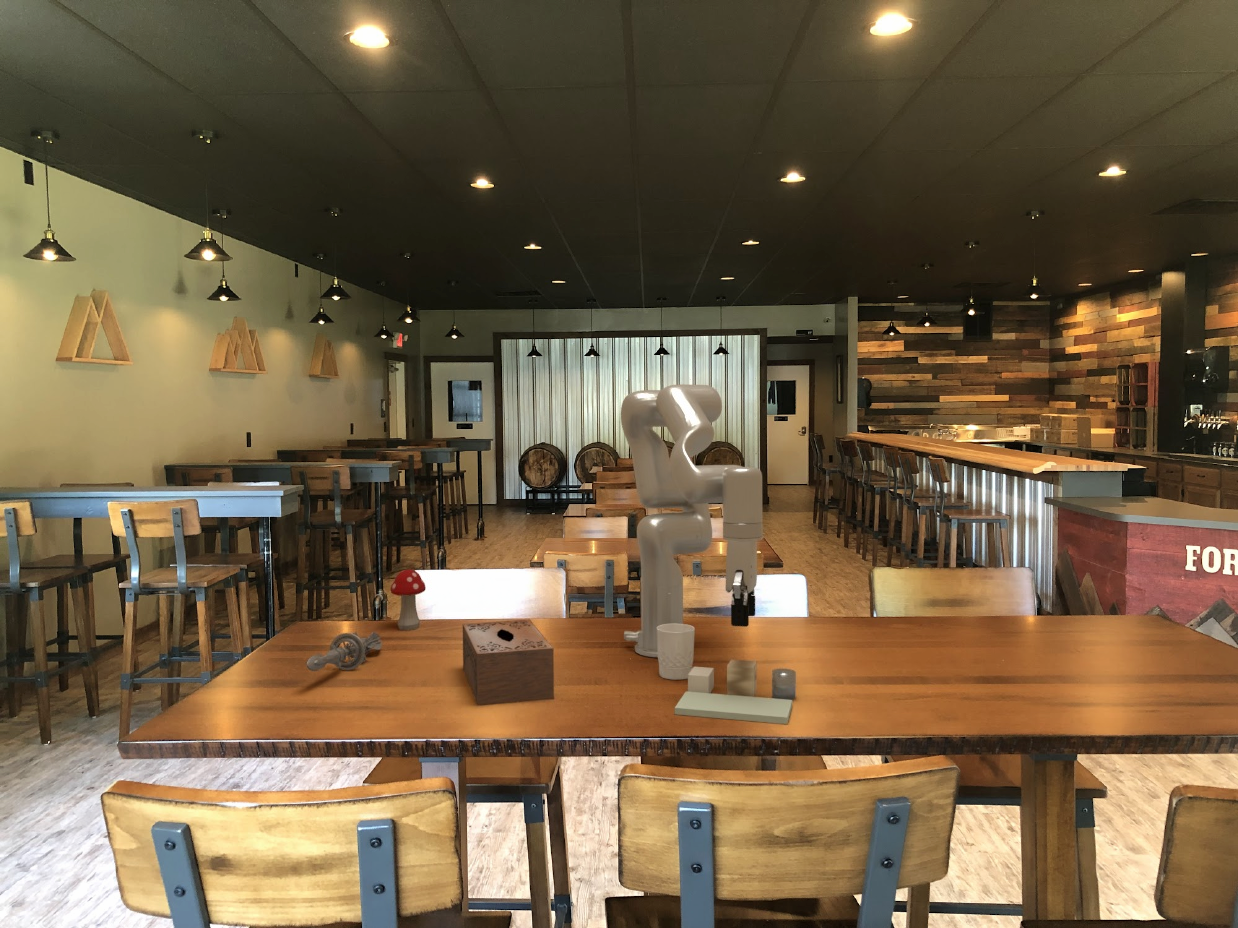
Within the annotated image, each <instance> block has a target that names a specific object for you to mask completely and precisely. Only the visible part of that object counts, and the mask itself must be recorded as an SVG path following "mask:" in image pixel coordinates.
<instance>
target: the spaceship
mask: <svg viewBox="0 0 1238 928" xmlns="http://www.w3.org/2000/svg"><path fill="white" fill-rule="evenodd" d="M341 644H343V646H341ZM382 647H383V641H381V636H380V635H379V633H377V632H375V631H373V632H372V633H371V634H370V635H369V636H367V637H359V635H358V632H357V631H355V632H352V633H351V632H343V633H340V634H338V635H337V636H335V637H334V639H333V640H331V643H330V646H329V650H328V651H326V654H324V655H323V654H320V653H317V654H315V655H312V656H310V657H309V658H307V661H306V668H307V669H308V670H310V671H311V672H317V671H319V670H323V669H324V668H325V667H326V665H327V664H330V665H334V666H335V667H336V668H337V669H340V670H342V671H353V670H355V669H357V668H358V667H359V666H361V664H362V663H363V664H364V663H366V662H367V661H368V660H367V657H366V655H367V654H369V653H370V652H371V651H372V650H378V651H380V650H382V649H381V648H382ZM346 659H348V661H346Z"/></svg>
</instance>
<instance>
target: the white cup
mask: <svg viewBox="0 0 1238 928" xmlns="http://www.w3.org/2000/svg"><path fill="white" fill-rule="evenodd" d="M657 649H658V657H657V659H658V660H657V661H658V674H659V677H660V678H663V679H666V680H673V681H676V680H680V681H681V680H686V679H687V680H688V674H689V673H690V671H691V670H692V669H693V663H694V654H695V653H694V652H695V651H694V650H695V627H694V626H693V625H690V624H687V623H686V624H685V623H683V624H663V625H659V626H658V627H657Z"/></svg>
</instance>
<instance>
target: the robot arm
mask: <svg viewBox="0 0 1238 928" xmlns="http://www.w3.org/2000/svg"><path fill="white" fill-rule="evenodd" d="M722 409H723V402H722V398H721V396H720V394H719V392H718V391H717V389H716V388H714V387H713V386H711V385H708V384H671V385H668V386H666V387H664V388H662V389H644V390H636V391H633V392H630V393H629V394H627V395H626V396H625V397H624V398H623V401H622V402H621V407H620V421H621V428H622V431H623V433H624V437H625V440H626V442H627V444H628V446H629V450H630V452H631V453H630V454H631V457H632V465H633V473H634V481H635V487H636V491H637V492H636V493H637V497H638V501H639V503H640V504H641V506H643V507H644V508H647V509H653V510H654V509H656V510H657V509H661V510H662V509H676V508H677V509H678V508H680V509H681V511H682V512H664V513H663V512H661V513H660V512H659V513H658V512H657V513H653V514H649V515H646V516H644V517H643V518H642V519H641V520H640V521H639V522H638V524H637V526H636V527H637V528H636V539H637V545H638V550H639V557H640V572H641V573H640V574H641V575H640V576H641V578H640V583H641V586H640V587H641V593H640V595H641V596H640V597H641V602H640V603H641V605H640V606H641V613H640V614H641V618H640V619H641V620H640V621H641V629H640V630H636V631H632V630H624V631H623V639H624V640H626V641H627V642H635V643H636V644H635V645H634V651H635V652H636V654H639V655H641V656H644V657H648V658H658V649H657V627H658V626H659V625H663V624H684V576H683V571H682V569H681V567H680V565H679V564H678V563H677V561H676V560H675V559H674V556H677V555H686V554H697V553H698V554H699V553H703V552H706V551H707V550H708V549H709V548H710V547H711V545H712V541H713V525H712V520H711V512H710V508H709V507H710V506H709V504H719V503H720V504H722V539H723V541H727V544H726V545H727V546H726V555H725V557H726V559H725V591H726V592H727V593H731V602H730V603H731V604H730V625H731V626H732V627H745V628H746V627H749V625H750V624H749V622H750V621H749V619H750V618H749V617H755V616H756V595H755V588H756V586H757V583H758V582H757V578H758V543H757V542H758V541H762V540H763V539H764V537H763V536H764V534H763V532H764V531H763V528H764V527H763V472H762V471H761V469H759V468H757V467H754V466H742V465H739V464H712V465H711V464H710V465H708V464H707V465H706V464H704V465H703V464H702V465H696V464H694V463H693V460H692V459H691V458H692V457H694V456H696V455H698V454H700V453H702V452H703V451H705V450H706V449H707V448H708V447H709V446H710V445H711V444H712V442H713V440H714V438H715V429H714V426H713V425H712V423H714V422H716V421H717V420H718V419H719V418H720V416H721V414H722V411H723V410H722ZM656 427H657V428H658V427H661V428H667V430H668V432H669V434H670V435H671V437H672V439H673V441H674V442H675V443H674V445H673V447H672V450H671V452H670V454H669V449H668V447H667V444H666V443H665V440H663V439H662V438H661V436H660V435H659V434H658V433H657V432H656V431H655V430H654V429H653V428H656ZM669 455H670V456H669Z"/></svg>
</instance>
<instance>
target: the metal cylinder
mask: <svg viewBox="0 0 1238 928" xmlns="http://www.w3.org/2000/svg"><path fill="white" fill-rule="evenodd" d="M771 673H772V674H771V675H772V676H771V679H772V680H771V681H772V682H771V687H772V689H771V693H772V694H771V696H772V697H771V698H774V699H786V700H792V702H793V701H795V700H796V697H797V694H796V689H797V685H796V683H797V679H796V678H797V671H795V670H793V669H791V668H774V669H773V670H772V672H771Z"/></svg>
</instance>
